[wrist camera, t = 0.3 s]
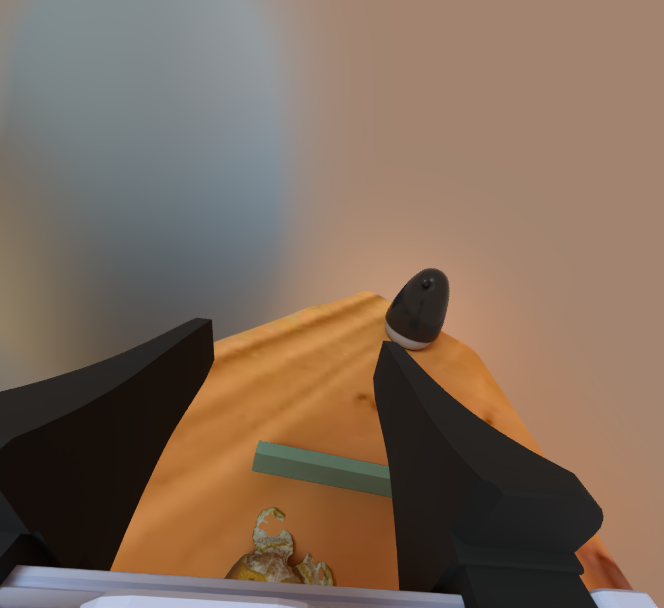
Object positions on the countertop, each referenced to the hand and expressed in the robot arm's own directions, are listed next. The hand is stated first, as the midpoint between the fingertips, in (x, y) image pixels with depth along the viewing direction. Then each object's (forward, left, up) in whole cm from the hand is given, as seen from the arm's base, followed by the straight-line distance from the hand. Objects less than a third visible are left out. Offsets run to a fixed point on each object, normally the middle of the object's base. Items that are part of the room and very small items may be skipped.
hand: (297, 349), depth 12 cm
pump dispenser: (+34, -20, -21) cm, 45 cm away
